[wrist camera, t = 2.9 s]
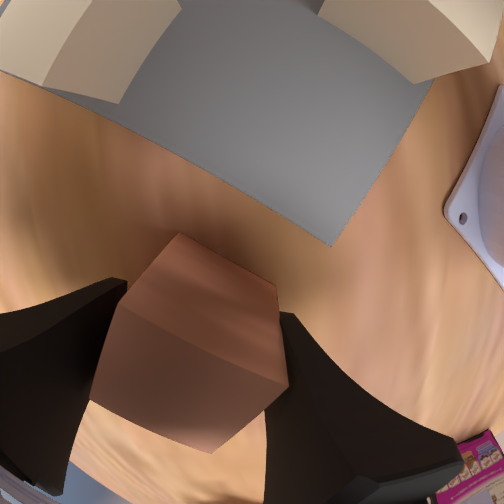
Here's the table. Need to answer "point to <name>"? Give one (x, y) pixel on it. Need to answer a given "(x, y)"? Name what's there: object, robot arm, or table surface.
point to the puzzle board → (256, 82)
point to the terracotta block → (193, 348)
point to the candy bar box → (475, 472)
